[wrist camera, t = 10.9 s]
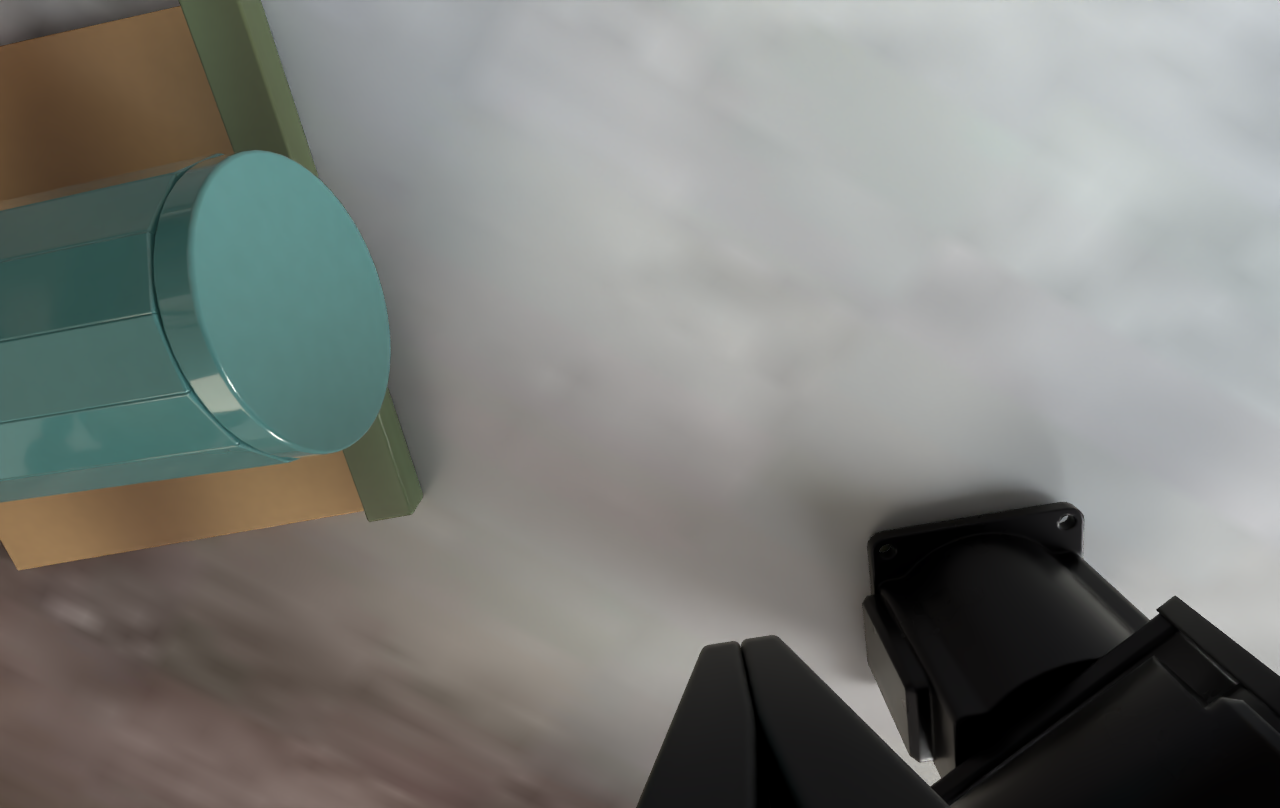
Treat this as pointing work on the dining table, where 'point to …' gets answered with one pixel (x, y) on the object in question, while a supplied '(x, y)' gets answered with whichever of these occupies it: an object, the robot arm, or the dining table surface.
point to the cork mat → (145, 138)
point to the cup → (183, 326)
